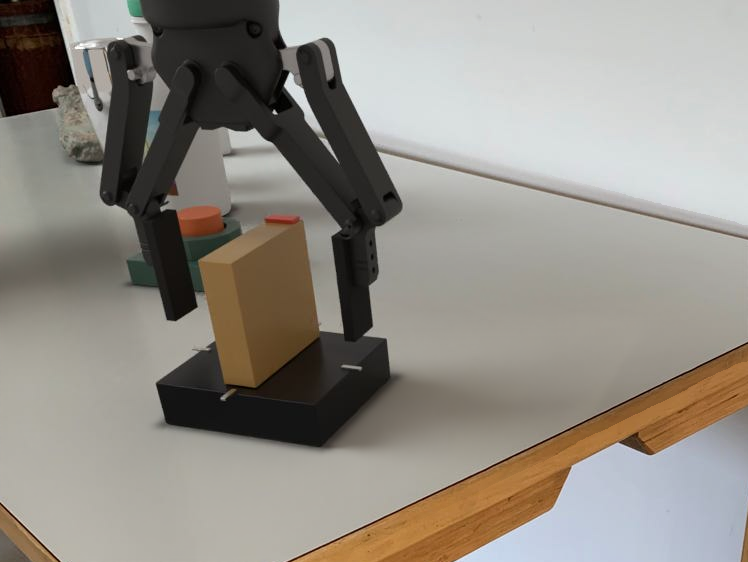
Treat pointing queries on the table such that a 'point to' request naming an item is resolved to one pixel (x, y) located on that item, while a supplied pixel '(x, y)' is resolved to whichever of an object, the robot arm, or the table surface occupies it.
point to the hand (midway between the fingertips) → (268, 324)
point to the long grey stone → (76, 126)
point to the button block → (187, 254)
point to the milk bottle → (204, 158)
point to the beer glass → (94, 82)
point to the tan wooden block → (261, 299)
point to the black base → (279, 391)
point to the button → (200, 220)
